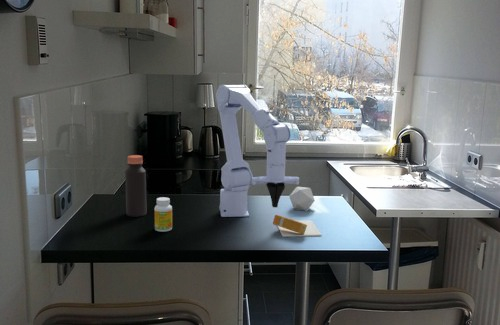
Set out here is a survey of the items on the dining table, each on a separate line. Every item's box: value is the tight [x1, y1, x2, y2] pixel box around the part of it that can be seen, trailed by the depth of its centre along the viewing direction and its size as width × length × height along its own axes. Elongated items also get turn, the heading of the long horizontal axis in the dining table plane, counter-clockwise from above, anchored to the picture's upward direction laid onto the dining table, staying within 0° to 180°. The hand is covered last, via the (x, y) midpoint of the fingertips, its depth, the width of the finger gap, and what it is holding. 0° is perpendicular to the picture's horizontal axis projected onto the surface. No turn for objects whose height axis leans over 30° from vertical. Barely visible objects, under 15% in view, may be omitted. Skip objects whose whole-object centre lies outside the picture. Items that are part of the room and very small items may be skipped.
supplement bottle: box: [153, 196, 173, 233], centre depth 153 cm, size 5×5×10 cm
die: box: [288, 186, 315, 212], centre depth 178 cm, size 8×9×10 cm
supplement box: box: [272, 214, 307, 234], centre depth 152 cm, size 3×3×10 cm
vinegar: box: [124, 154, 148, 218], centre depth 167 cm, size 7×7×20 cm
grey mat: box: [277, 219, 323, 238], centre depth 157 cm, size 12×14×1 cm
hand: (274, 206), depth 155 cm, fingers closed
